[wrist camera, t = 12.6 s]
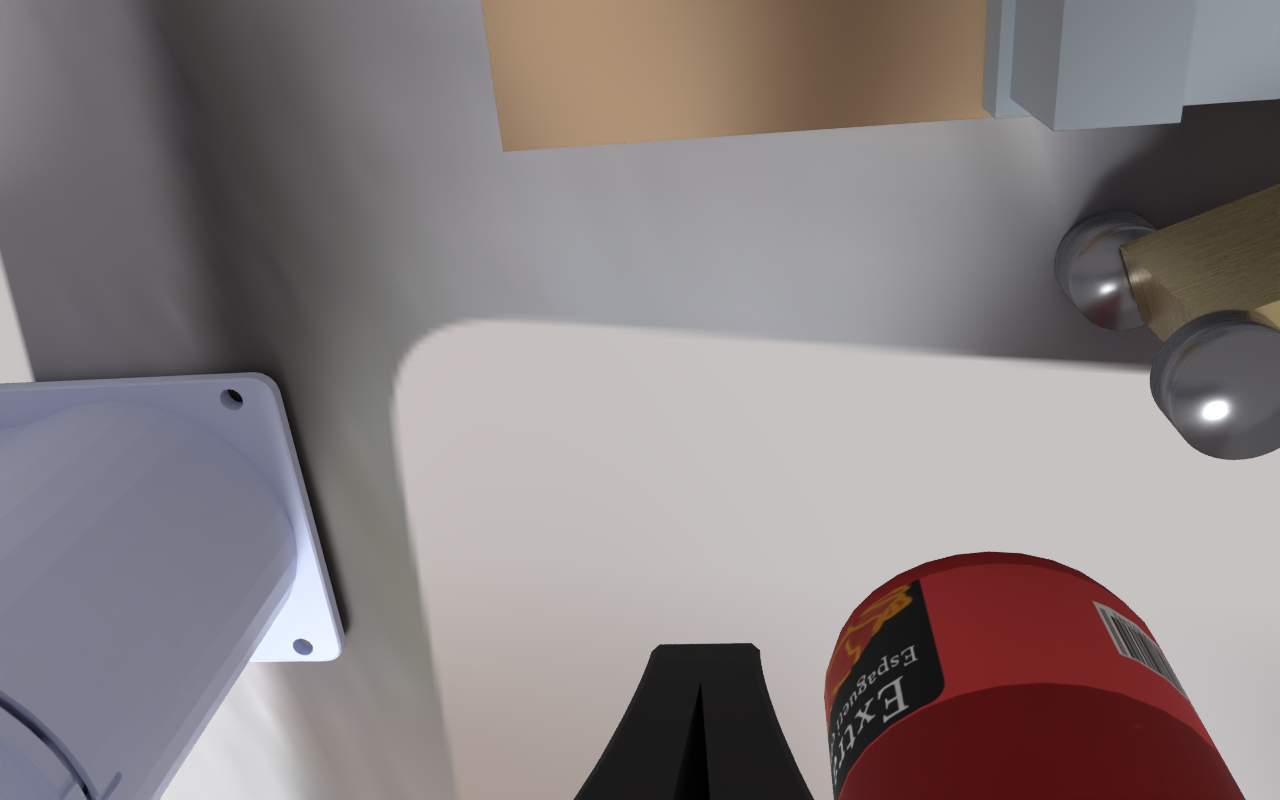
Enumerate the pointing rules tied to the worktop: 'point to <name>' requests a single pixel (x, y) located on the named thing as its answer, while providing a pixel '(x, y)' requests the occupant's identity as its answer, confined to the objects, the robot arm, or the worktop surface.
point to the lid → (1126, 59)
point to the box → (728, 67)
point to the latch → (1216, 323)
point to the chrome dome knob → (1101, 268)
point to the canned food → (1010, 692)
